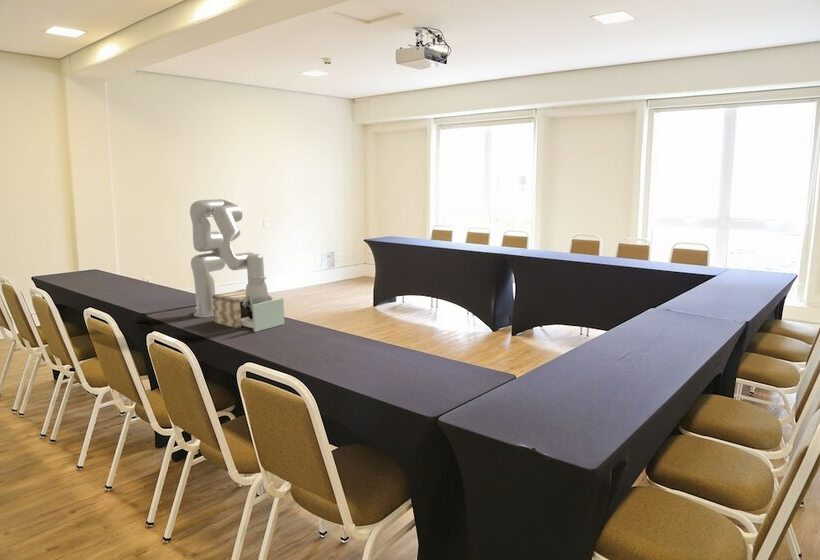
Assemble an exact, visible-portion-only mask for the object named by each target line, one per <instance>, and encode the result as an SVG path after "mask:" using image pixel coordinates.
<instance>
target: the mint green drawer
mask: <svg viewBox="0 0 820 560" xmlns="http://www.w3.org/2000/svg"><path fill="white" fill-rule="evenodd" d="M252 314H253V322H251V319H249V317H241V326H243V327H246V328H251V329H253V332H255V333H257V332H261V331H263V330H268V329H272V328H275V327H278V326H282V325H284V324H285V308H284V298H277V299H272V300H271V301H267V302H263V303H258V304H254V305H252Z"/></svg>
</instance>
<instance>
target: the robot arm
mask: <svg viewBox="0 0 820 560" xmlns="http://www.w3.org/2000/svg"><path fill="white" fill-rule="evenodd" d="M189 216H190V221H191V222H192V223H191V225H192V243H193V249H194V251H195V252H200V254H197V255H195V256H193V257H192V258H191V260H190V266H191V267H190V268H191V270H192V275H193V281H194V282H193V283H194V289H195V290H194V291H195V302H196V306H194V309H195V310H196V312H194V313H193V316H194V317H196V318H210V317H213V318H214V314H213V302H212V295H216V287H215V280H214V277H213V276H212V275H211V274H210V273H211V272H216V271H221V270H223V269H224V268H225V267H226V266H227V267H228V269H230V270H232V271H239V270H247V284H246V286H245V290H246V300H245V301H244V302H243V303H242V305H243V306H244V307H245V308H246V309H247V311H248V316H249V319H253V314H252V305H254V304H258V303H263V302H267V301H272V300H273V297H272V296H270V295H269V292H268V287H267V283H266V282H265V280H266V279H267V277H266V276H265V266H264V256H263V255H262V254H259V253H253V252H250V251H248V252H241V253H234V252H233V249H232V247H231V245H232V244H231V243H232V242H233V241H234V240H236V239H238V238H239V236H240V235H241V230H240V228H239V226H238V224H237V223H238V222H240V221H242V218H243V211H242V209H241V208H240V206H238V204H236V203H233V202H231V201H228V200H226V199H222V198H221V199H220V198H218V199H200V200H196V201H194V202H193V203H191V205H190V207H189ZM208 218H213V220H214V222H215V223H216V227H217V228H218V230H219V231H212V230H211V223H210V220H209V219H208ZM201 252H204V253H201ZM206 252H208V253H206ZM247 304H248V306H247ZM250 307H251V308H250Z"/></svg>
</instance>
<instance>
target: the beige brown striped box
mask: <svg viewBox="0 0 820 560" xmlns="http://www.w3.org/2000/svg"><path fill="white" fill-rule="evenodd" d="M245 300H246V288H245V289H244V288H243V289H242V288H241V289H238V290H234V291H233V290H231V291H227V292H222V293H217V294H216V293H215V295H212V302H213V314H214V316H213V323H215V324H220V325H223V326H227V327H230V328H235V329H238V328H242V325H241V318H245V317H249V316H248V311H247V309H246V308H245V307H244V306H243V305H242V303H243V302H244V301H245ZM247 306H248V304H247ZM250 308H251V307H250Z"/></svg>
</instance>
